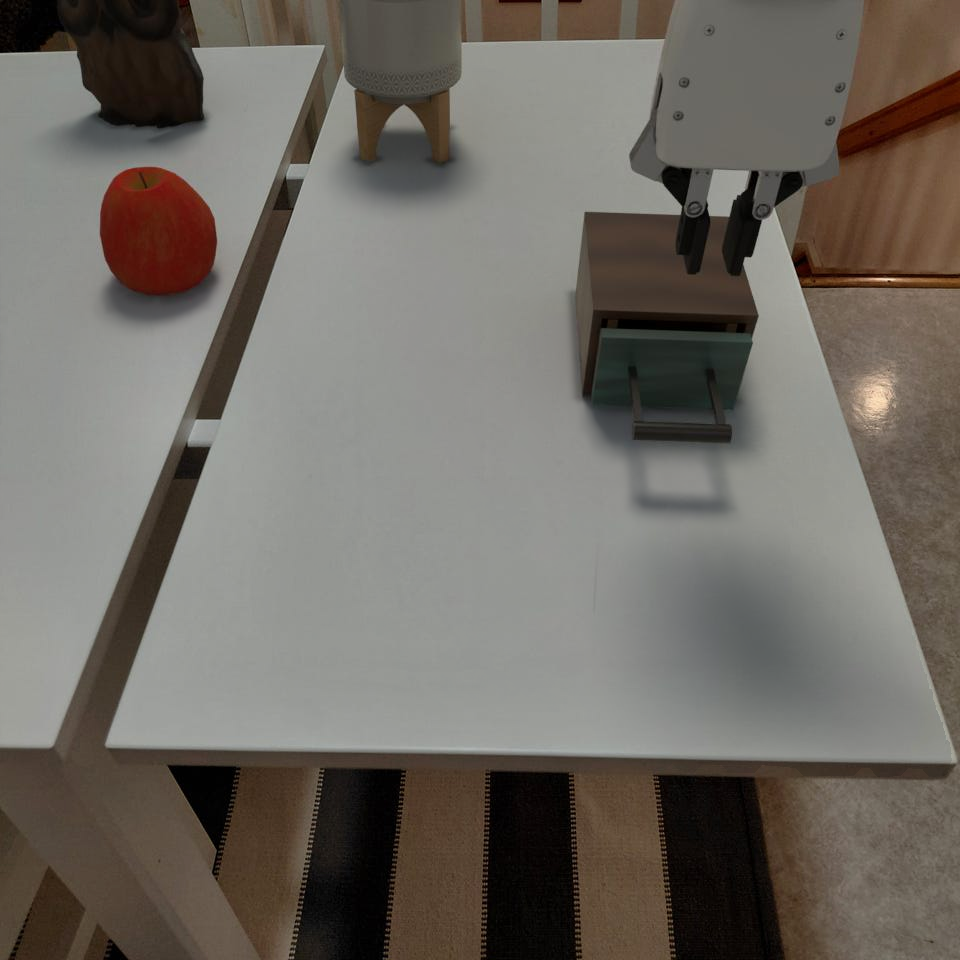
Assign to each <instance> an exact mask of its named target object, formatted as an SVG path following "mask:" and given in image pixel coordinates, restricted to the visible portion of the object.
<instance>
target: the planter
mask: <svg viewBox="0 0 960 960" xmlns="http://www.w3.org/2000/svg"><path fill="white" fill-rule="evenodd" d="M337 7H338V8H337V9H338V19H339V29H340V31H339V32H340V40H341V41H340V43H341V52H342V63H343V73H344V75H343V76H344V78H345V80H346V82H347V83H348V84H349V85H350V86H351V87H353V88H354V91H353V92H354V104H355V116H356V126H357V128H356V129H357V140H358V153H359V159H361V160H362V161H364V162H366V163H371V162H373V161H376V160H377V157H378V156H377V155H378V153H377V152H378V151H377V150H378V145H379V139H380V137H381V135H382V131H383V129H384V127H385V125H386V124H387V122H388V120H389V119H390V118H391V116H392V115H393V114H394V113H395V112H396V111H397V110H399V108H401V107H403V106H405V107H407V108H408V110H410V111H411V112H412V113H413V114H414V115H415V116H416V117H417V119H418V120H419V122H420V123H421V125H422V127H423V129H424V131H425V134H426V137H427V139H428V142H429V145H430V150H431V155H432V156H431V157H432V158H431V159H432V160H433V161H434V162H436V163H439V164H442V163H444V162H446V161H449V160H450V128H451V107H450V106H451V99H450V98H451V88H452V87H454V86H455V85H457V83H458V82H459V81H460V80H461V77H462V70H463V68H462V67H463V65H462V64H463V63H462V61H463V59H462V58H463V56H462V54H463V52H462V51H463V50H462V49H463V48H462V47H463V37H462V35H463V34H462V33H463V27H462V26H463V22H462V21H463V0H337Z"/></svg>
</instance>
